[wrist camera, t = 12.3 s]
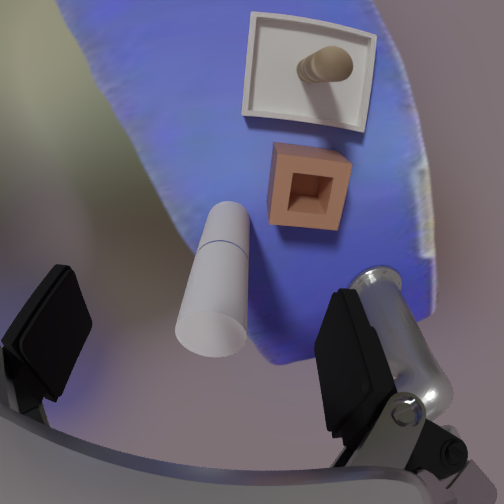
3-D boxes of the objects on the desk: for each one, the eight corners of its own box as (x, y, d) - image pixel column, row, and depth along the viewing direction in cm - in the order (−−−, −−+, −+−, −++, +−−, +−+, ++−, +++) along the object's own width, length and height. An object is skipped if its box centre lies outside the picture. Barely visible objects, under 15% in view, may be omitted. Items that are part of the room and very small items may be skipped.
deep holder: (325, 207, 47) (337, 230, 40) (266, 201, 46) (268, 224, 39) (336, 150, 41) (352, 164, 34) (273, 142, 41) (277, 153, 34)
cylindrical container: (257, 213, 47) (260, 328, 26) (237, 245, 51) (226, 364, 30) (219, 193, 45) (190, 299, 24) (200, 227, 49) (166, 341, 28)
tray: (358, 130, 39) (364, 132, 37) (242, 113, 38) (241, 115, 36) (370, 37, 30) (376, 35, 28) (251, 15, 30) (251, 11, 28)
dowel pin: (322, 85, 35) (350, 85, 24) (295, 80, 35) (313, 77, 24) (325, 60, 33) (355, 50, 22) (297, 55, 32) (316, 42, 21)
